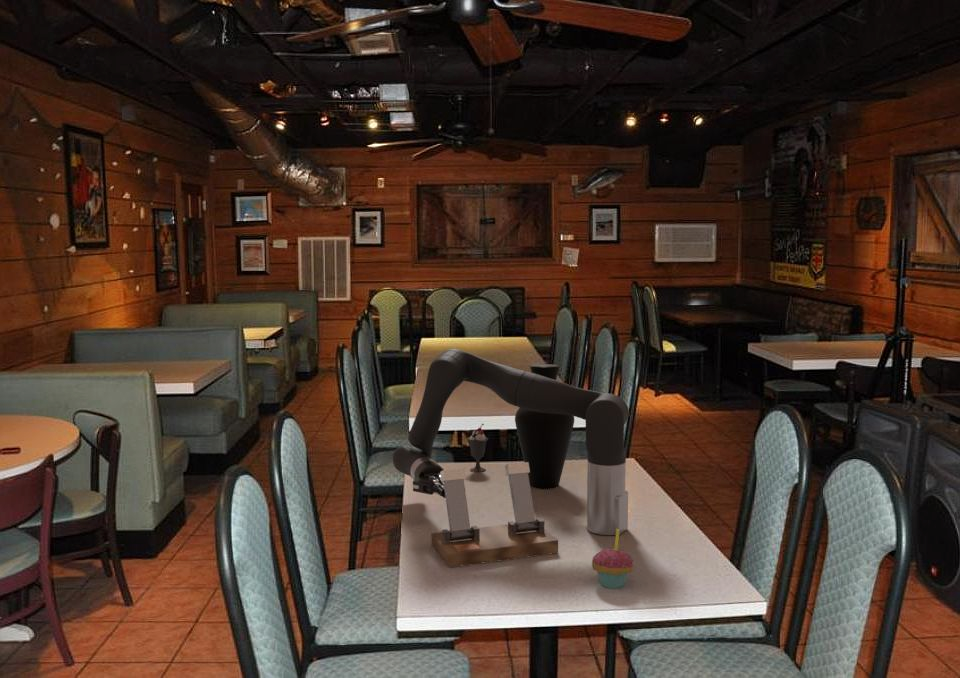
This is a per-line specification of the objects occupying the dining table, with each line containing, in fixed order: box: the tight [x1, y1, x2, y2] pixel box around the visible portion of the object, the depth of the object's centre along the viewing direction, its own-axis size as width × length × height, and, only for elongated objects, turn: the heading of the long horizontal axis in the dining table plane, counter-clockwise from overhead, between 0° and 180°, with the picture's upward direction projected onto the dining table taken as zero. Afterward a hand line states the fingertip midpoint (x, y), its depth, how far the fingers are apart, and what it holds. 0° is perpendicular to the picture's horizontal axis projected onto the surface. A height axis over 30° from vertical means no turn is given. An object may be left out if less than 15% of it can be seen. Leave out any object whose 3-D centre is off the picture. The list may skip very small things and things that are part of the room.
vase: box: [514, 363, 575, 490], centre depth 240 cm, size 17×17×35 cm
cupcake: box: [591, 525, 634, 589], centre depth 171 cm, size 9×8×12 cm
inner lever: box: [504, 462, 539, 533], centre depth 196 cm, size 5×2×16 cm, turn 109°
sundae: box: [466, 423, 490, 473], centre depth 257 cm, size 7×7×15 cm
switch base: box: [430, 517, 559, 568], centre depth 191 cm, size 26×14×6 cm, turn 109°
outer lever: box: [440, 467, 473, 541], centre depth 190 cm, size 5×2×16 cm, turn 109°
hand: (446, 493), depth 198 cm, fingers closed
